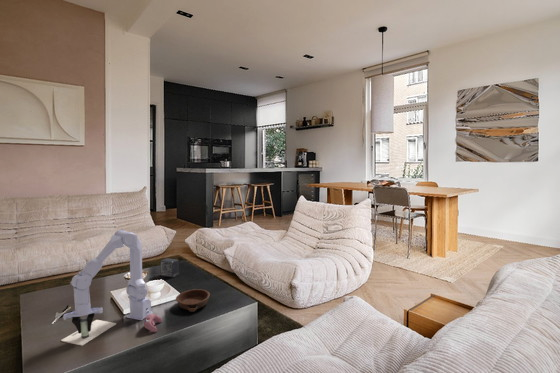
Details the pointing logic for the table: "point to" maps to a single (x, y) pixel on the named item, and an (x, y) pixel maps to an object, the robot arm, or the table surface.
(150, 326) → the video game controller
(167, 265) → the small box
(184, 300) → the dish
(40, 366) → the table surface
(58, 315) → the scissors
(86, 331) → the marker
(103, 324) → the notepad
